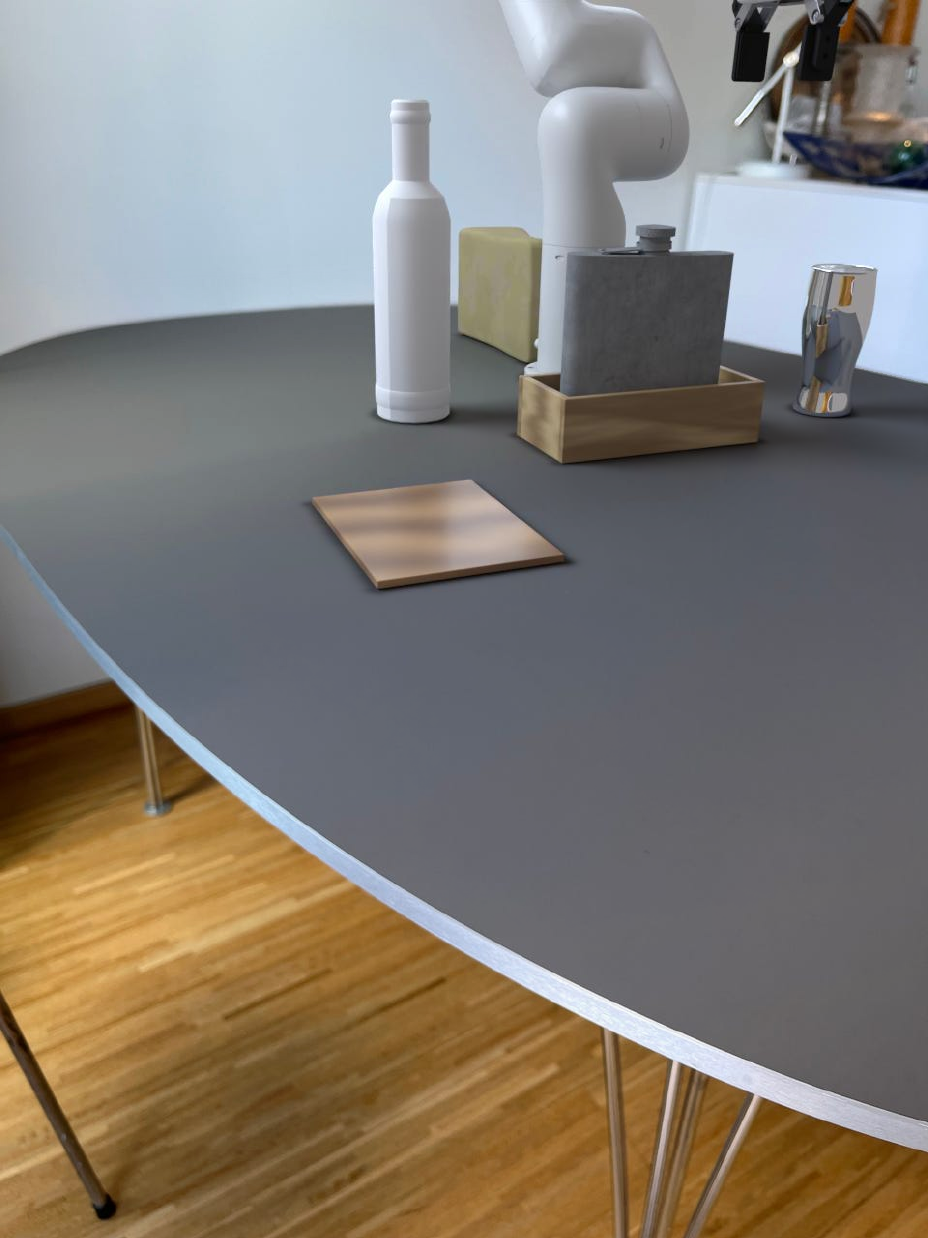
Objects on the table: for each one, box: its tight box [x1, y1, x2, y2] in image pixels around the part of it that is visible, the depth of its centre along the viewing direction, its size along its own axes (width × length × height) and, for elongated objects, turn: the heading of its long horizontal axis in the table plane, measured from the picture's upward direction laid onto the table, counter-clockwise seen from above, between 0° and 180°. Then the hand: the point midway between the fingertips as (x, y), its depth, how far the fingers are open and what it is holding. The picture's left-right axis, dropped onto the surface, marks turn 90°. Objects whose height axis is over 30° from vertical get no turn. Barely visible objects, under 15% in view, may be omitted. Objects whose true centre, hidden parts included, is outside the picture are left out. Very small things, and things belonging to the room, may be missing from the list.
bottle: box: [371, 98, 452, 424], centre depth 104 cm, size 8×8×30 cm
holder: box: [516, 364, 767, 464], centre depth 101 cm, size 10×22×6 cm, turn 111°
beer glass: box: [792, 263, 879, 418], centre depth 110 cm, size 7×7×15 cm
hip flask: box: [560, 224, 735, 397], centre depth 98 cm, size 16×4×20 cm, turn 99°
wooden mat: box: [311, 479, 565, 590], centre depth 79 cm, size 18×14×1 cm
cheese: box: [457, 226, 542, 364], centre depth 139 cm, size 22×10×15 cm, turn 14°
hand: (779, 81), depth 90 cm, fingers open, 9 cm apart
